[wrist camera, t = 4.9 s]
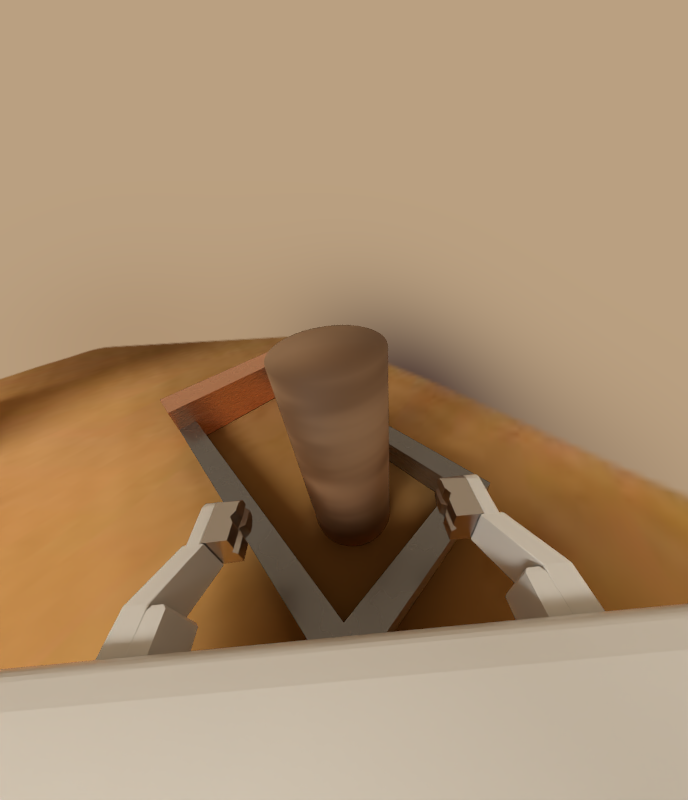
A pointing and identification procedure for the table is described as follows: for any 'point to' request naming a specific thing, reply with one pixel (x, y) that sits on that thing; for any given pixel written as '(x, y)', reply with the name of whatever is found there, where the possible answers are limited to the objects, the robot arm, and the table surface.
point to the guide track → (315, 616)
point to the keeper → (338, 424)
